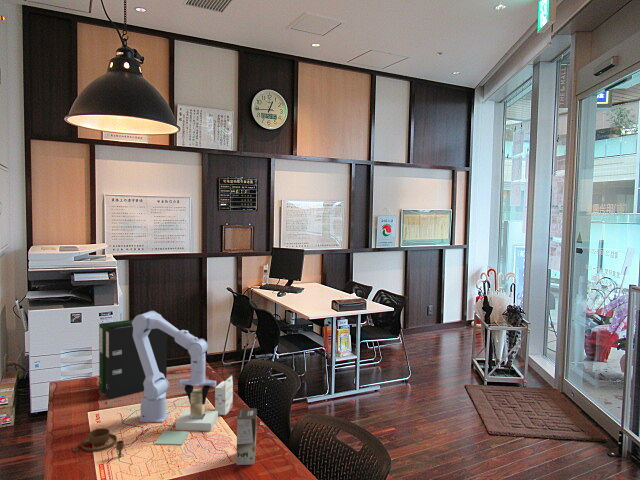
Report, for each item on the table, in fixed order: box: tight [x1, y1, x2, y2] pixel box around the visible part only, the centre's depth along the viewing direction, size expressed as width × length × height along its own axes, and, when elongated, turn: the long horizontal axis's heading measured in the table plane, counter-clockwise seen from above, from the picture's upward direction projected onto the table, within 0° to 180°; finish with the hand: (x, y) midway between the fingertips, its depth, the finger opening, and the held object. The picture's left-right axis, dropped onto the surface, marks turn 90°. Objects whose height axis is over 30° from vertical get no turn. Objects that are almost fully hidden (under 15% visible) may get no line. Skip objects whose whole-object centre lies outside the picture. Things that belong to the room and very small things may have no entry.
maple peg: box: [189, 388, 206, 416], centre depth 192 cm, size 4×4×9 cm
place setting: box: [72, 427, 126, 458], centre depth 170 cm, size 18×20×6 cm
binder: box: [98, 319, 168, 401], centre depth 228 cm, size 27×15×32 cm, turn 132°
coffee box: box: [235, 407, 258, 466], centre depth 166 cm, size 9×6×16 cm
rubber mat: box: [154, 430, 190, 446], centre depth 179 cm, size 10×10×1 cm
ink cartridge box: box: [214, 375, 234, 416], centre depth 205 cm, size 9×5×15 cm, turn 169°
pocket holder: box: [175, 409, 219, 432], centre depth 192 cm, size 14×12×3 cm
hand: (197, 403), depth 192 cm, fingers closed on maple peg, 4 cm apart
